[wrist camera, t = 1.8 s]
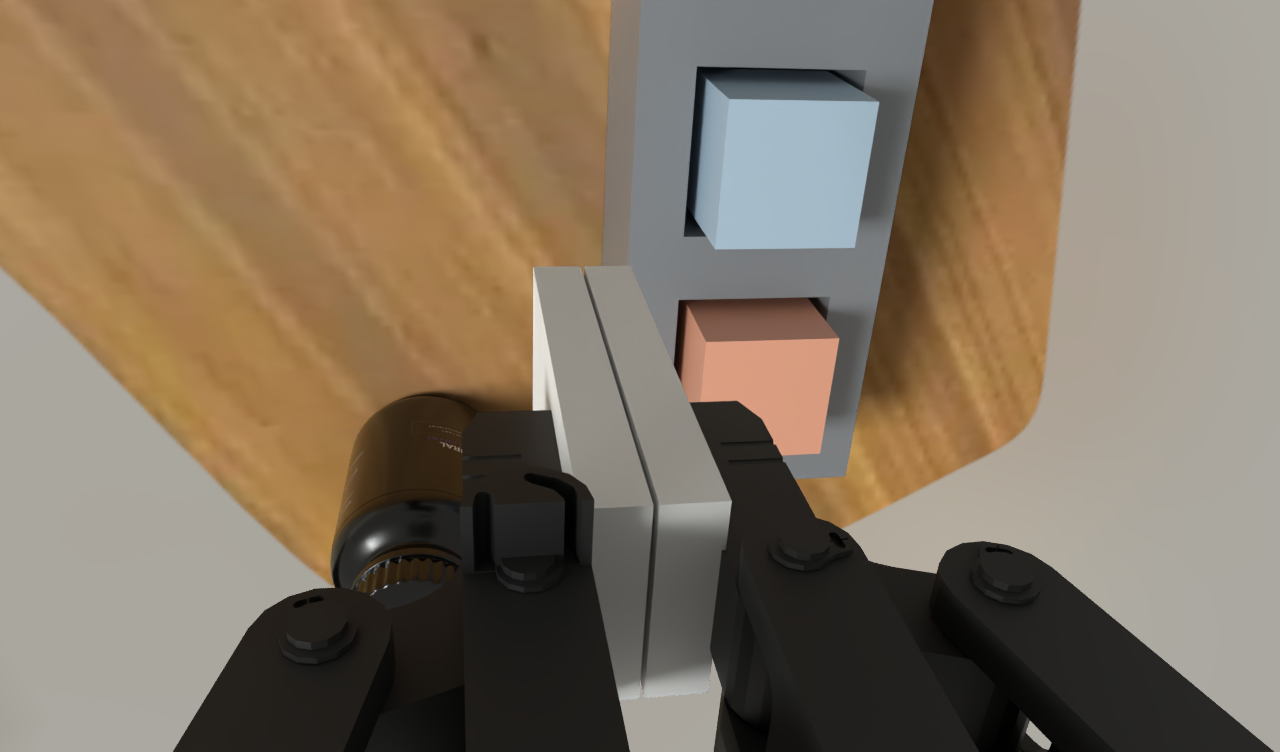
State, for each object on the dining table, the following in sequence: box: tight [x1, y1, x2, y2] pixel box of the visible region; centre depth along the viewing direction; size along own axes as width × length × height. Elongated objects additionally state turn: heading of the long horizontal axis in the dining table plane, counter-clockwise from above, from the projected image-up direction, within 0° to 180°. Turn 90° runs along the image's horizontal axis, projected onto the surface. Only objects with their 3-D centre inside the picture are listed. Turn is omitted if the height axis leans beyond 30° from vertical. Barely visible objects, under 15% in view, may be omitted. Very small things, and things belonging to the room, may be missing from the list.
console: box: [602, 0, 934, 479], centre depth 36 cm, size 28×10×6 cm, turn 177°
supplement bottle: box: [330, 396, 477, 610], centre depth 39 cm, size 7×7×12 cm
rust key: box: [674, 297, 839, 455], centre depth 38 cm, size 5×5×5 cm
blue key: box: [686, 68, 879, 249], centre depth 34 cm, size 5×5×5 cm
